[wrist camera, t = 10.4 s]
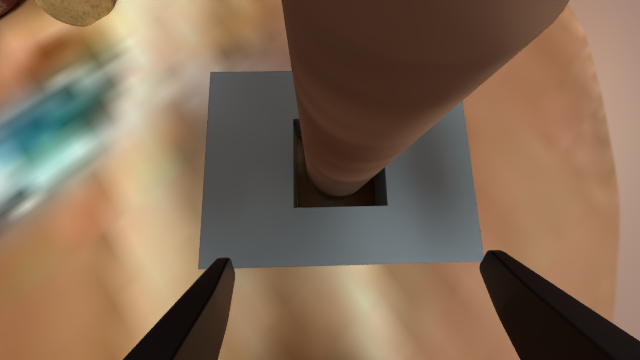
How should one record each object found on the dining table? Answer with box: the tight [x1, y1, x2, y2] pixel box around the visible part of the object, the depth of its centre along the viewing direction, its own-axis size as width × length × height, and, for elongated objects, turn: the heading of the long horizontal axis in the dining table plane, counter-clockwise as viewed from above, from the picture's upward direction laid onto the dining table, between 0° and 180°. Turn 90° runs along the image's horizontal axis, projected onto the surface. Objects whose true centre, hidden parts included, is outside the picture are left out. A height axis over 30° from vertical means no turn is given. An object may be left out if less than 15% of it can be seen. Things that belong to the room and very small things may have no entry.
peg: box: [282, 0, 569, 200], centre depth 11 cm, size 4×4×15 cm
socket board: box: [198, 71, 484, 269], centre depth 16 cm, size 12×16×3 cm
